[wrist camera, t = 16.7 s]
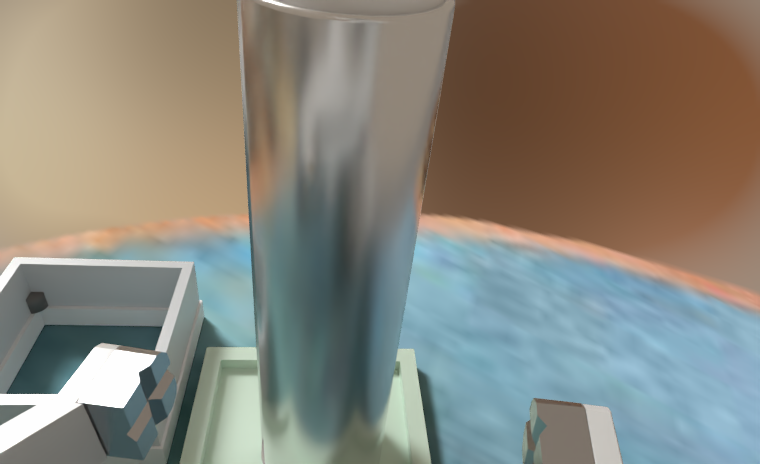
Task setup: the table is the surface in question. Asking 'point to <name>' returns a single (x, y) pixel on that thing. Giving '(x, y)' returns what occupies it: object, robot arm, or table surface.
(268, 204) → the silver thermos
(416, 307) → the table surface
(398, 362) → the tray
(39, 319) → the housing
